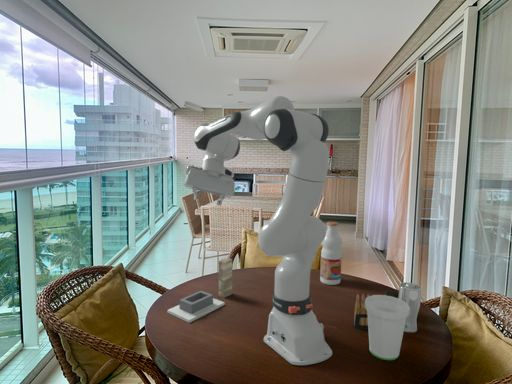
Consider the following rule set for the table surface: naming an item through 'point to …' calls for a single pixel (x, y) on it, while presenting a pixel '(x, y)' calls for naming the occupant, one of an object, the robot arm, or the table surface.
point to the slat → (225, 277)
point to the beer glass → (410, 303)
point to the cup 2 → (386, 325)
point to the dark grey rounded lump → (392, 293)
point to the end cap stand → (195, 306)
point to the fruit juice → (331, 256)
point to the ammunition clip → (360, 313)
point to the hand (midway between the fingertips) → (207, 202)
